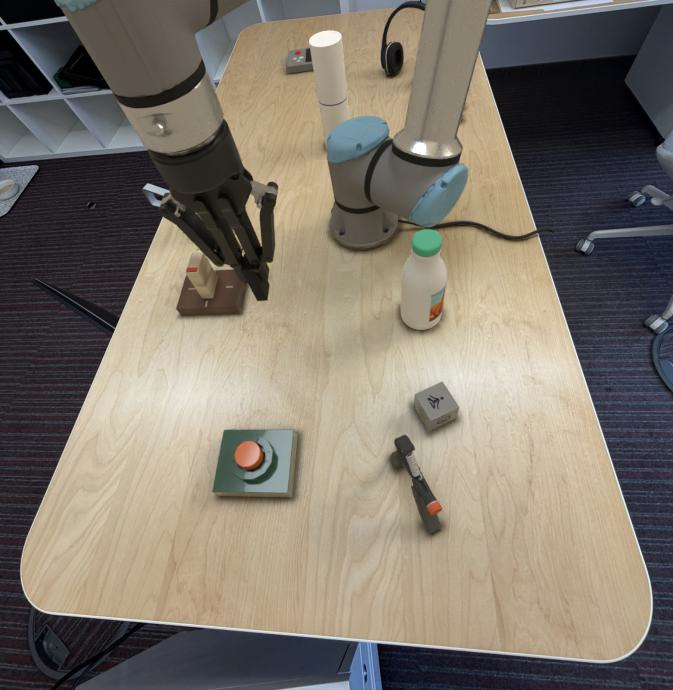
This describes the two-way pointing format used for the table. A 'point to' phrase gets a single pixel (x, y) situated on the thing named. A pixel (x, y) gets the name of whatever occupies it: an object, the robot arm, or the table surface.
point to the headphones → (395, 43)
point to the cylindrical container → (330, 79)
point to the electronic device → (299, 60)
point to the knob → (202, 275)
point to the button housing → (271, 473)
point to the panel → (224, 298)
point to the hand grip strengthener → (417, 484)
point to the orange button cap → (249, 455)
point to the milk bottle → (423, 281)
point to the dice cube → (435, 406)
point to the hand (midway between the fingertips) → (263, 292)
